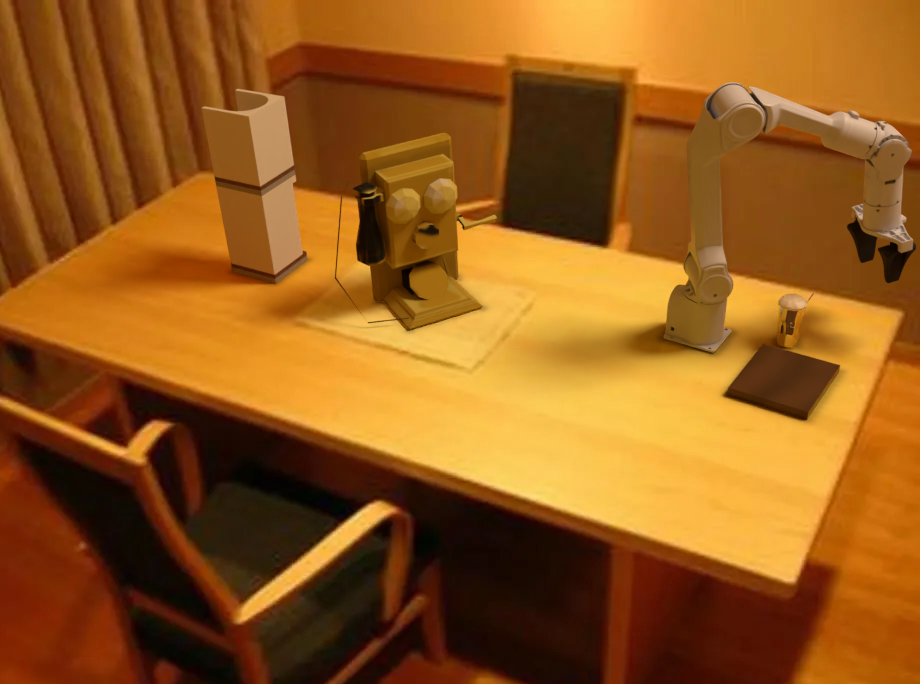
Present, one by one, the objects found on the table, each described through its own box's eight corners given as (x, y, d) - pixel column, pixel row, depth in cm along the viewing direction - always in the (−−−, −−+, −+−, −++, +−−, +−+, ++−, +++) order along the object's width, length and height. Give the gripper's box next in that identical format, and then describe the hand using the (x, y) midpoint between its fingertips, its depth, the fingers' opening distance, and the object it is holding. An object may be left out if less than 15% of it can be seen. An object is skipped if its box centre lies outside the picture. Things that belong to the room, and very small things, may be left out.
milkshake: (806, 350, 183) (815, 300, 177) (773, 349, 184) (781, 299, 178) (804, 336, 187) (812, 286, 181) (771, 335, 188) (778, 285, 182)
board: (727, 395, 174) (727, 387, 174) (762, 350, 184) (763, 343, 183) (807, 419, 168) (808, 412, 167) (839, 372, 177) (840, 364, 176)
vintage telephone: (362, 345, 195) (345, 193, 177) (334, 310, 205) (315, 164, 188) (515, 299, 204) (512, 150, 187) (480, 268, 215) (475, 124, 197)
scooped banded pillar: (307, 260, 223) (284, 96, 203) (276, 283, 216) (248, 116, 195) (264, 249, 228) (237, 88, 208) (232, 271, 221) (201, 107, 201)
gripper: (932, 209, 168) (927, 283, 176) (879, 175, 180) (876, 245, 188) (890, 222, 168) (887, 295, 176) (840, 187, 180) (839, 257, 188)
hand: (879, 270), depth 182 cm, fingers open, 7 cm apart
